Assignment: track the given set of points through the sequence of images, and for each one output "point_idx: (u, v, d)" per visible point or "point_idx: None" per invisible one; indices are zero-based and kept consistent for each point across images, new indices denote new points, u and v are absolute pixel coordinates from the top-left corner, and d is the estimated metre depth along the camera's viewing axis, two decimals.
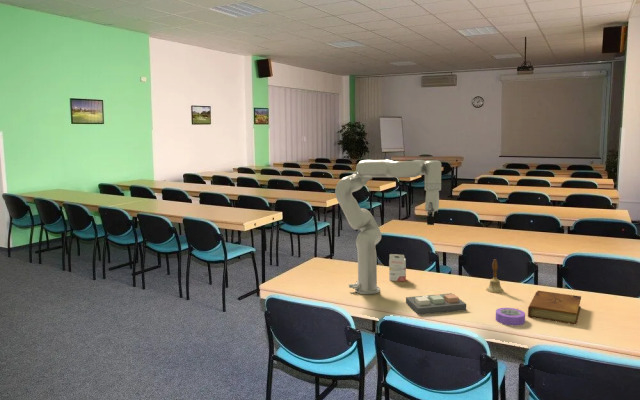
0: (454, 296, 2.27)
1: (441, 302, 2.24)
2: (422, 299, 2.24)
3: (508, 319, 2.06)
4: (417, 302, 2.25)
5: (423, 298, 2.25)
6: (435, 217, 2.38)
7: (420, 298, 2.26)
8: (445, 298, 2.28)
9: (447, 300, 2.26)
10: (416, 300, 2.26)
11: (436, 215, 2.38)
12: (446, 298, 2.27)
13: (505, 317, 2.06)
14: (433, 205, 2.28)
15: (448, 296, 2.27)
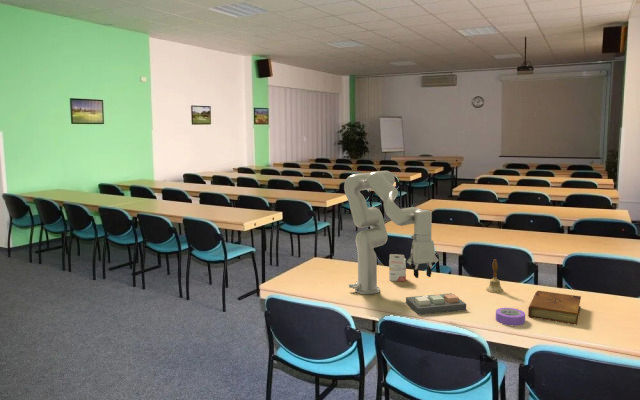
0: (454, 296, 2.27)
1: (441, 302, 2.24)
2: (422, 299, 2.24)
3: (508, 319, 2.06)
4: (417, 302, 2.25)
5: (423, 298, 2.25)
6: None
7: (420, 298, 2.26)
8: (445, 298, 2.28)
9: (447, 300, 2.26)
10: (416, 300, 2.26)
11: None
12: (446, 298, 2.27)
13: (505, 317, 2.06)
14: None
15: (448, 296, 2.27)
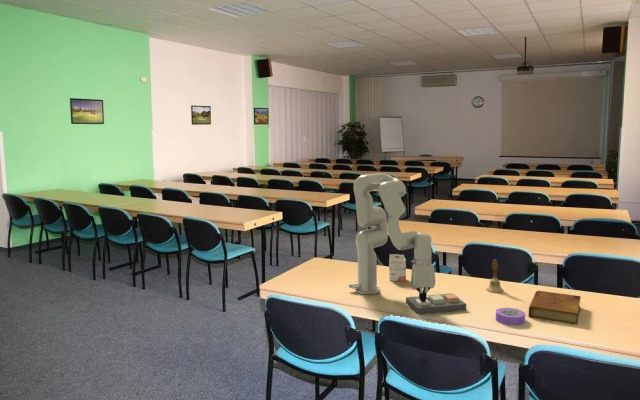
0: (454, 296, 2.27)
1: (441, 302, 2.24)
2: (422, 302, 2.24)
3: (508, 319, 2.06)
4: (417, 304, 2.25)
5: None
6: None
7: None
8: (445, 298, 2.28)
9: (447, 300, 2.26)
10: (416, 302, 2.26)
11: None
12: (446, 298, 2.27)
13: (505, 317, 2.06)
14: None
15: (448, 296, 2.27)
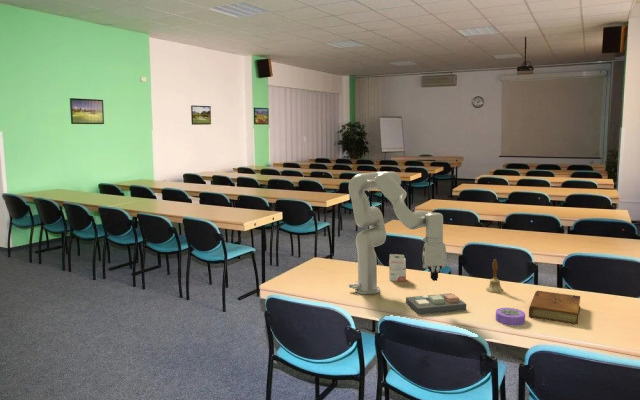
0: (454, 296, 2.27)
1: (441, 302, 2.24)
2: (422, 302, 2.24)
3: (508, 319, 2.06)
4: None
5: (423, 301, 2.25)
6: None
7: (420, 301, 2.26)
8: (445, 298, 2.28)
9: (447, 300, 2.26)
10: (416, 303, 2.26)
11: None
12: (446, 298, 2.27)
13: (505, 317, 2.06)
14: None
15: (448, 296, 2.27)
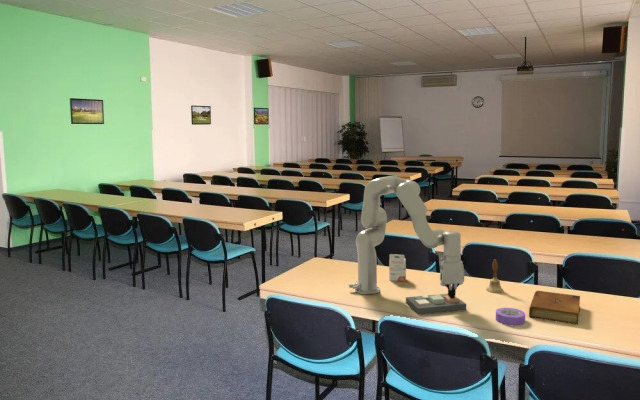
0: None
1: (441, 302, 2.24)
2: (422, 302, 2.24)
3: (508, 319, 2.06)
4: None
5: (423, 301, 2.25)
6: None
7: (420, 301, 2.26)
8: (445, 299, 2.28)
9: (447, 301, 2.26)
10: (416, 303, 2.26)
11: None
12: (446, 299, 2.27)
13: (505, 317, 2.06)
14: None
15: (448, 297, 2.27)
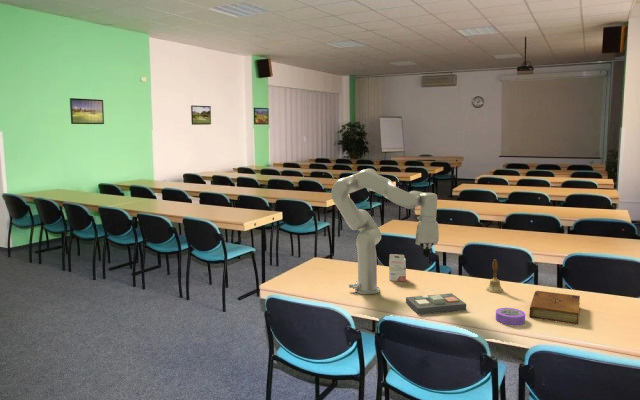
0: (454, 299, 2.27)
1: (441, 302, 2.24)
2: (422, 302, 2.24)
3: (508, 319, 2.06)
4: None
5: (423, 301, 2.25)
6: None
7: (420, 301, 2.26)
8: None
9: None
10: (416, 303, 2.26)
11: None
12: (446, 301, 2.27)
13: (505, 317, 2.06)
14: None
15: (448, 299, 2.28)
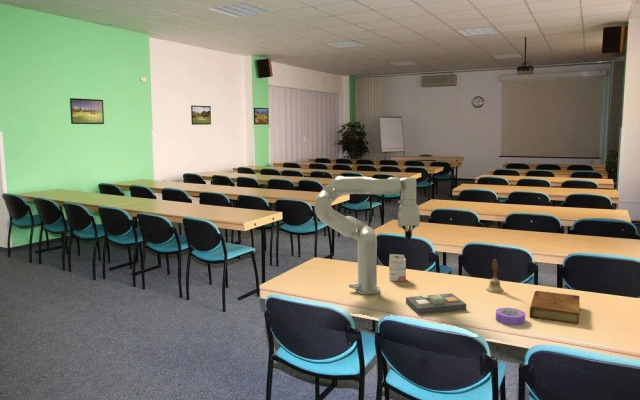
0: (454, 299, 2.27)
1: (441, 302, 2.24)
2: (422, 302, 2.24)
3: (508, 319, 2.06)
4: None
5: (423, 301, 2.25)
6: None
7: (420, 301, 2.26)
8: None
9: None
10: (416, 303, 2.26)
11: None
12: (446, 301, 2.27)
13: (505, 317, 2.06)
14: None
15: (448, 299, 2.28)
